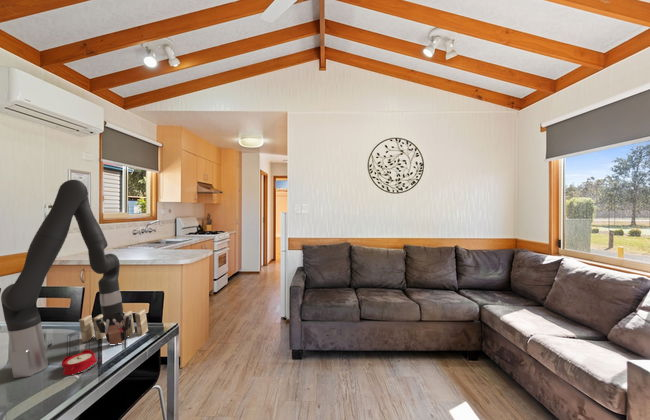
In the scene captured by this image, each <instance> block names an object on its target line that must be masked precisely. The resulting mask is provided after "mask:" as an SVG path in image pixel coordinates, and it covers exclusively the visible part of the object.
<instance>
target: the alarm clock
mask: <svg viewBox="0 0 650 420" xmlns="http://www.w3.org/2000/svg"><path fill="white" fill-rule="evenodd" d="M97 360H98V359H97V358H96V354H95V352H94V351H93V350H91V349H84V350H82V351H81V352H80V353H77V354H75V355H68V356H66V357H64V358H63V359H62V361H61V367H62V368H64V369H63V371H62V374H63V376H66V375H71V376H73V375H72V374H76V373H78V372H81V371H83V370H85V369H87V368H88V367H90V366H91V365H93V364H94V363H95V362H96V361H97ZM76 375H77V374H76Z"/></svg>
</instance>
